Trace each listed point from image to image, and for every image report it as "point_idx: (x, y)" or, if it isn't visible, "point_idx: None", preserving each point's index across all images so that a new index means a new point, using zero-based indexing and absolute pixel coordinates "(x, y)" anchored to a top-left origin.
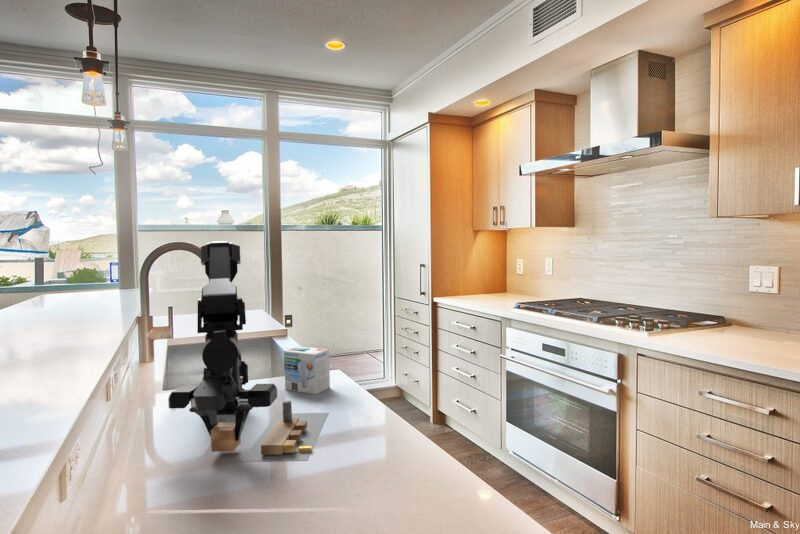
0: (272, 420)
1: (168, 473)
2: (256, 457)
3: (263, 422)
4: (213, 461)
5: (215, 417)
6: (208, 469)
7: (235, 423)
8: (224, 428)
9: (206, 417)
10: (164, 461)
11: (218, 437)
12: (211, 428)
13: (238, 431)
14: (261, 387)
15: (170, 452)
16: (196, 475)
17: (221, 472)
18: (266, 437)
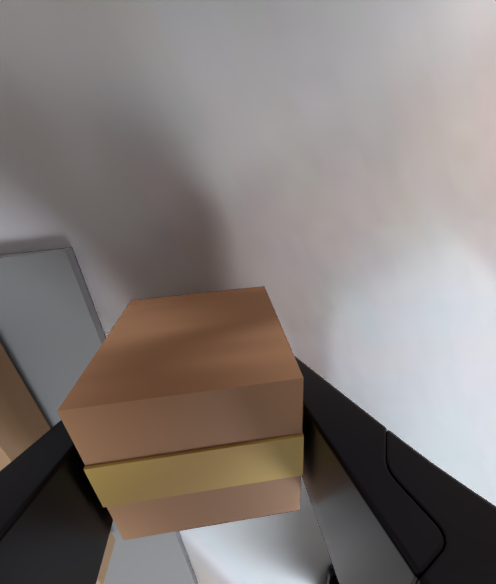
0: (184, 561)
1: (434, 96)
2: (13, 304)
3: (216, 547)
4: (245, 261)
5: (340, 565)
6: (225, 163)
7: (9, 515)
8: (181, 434)
9: (457, 562)
10: (481, 242)
11: (221, 343)
12: (315, 416)
13: (55, 428)
14: None
15: (471, 325)
16: (259, 70)
17: (121, 123)
18: (2, 448)
